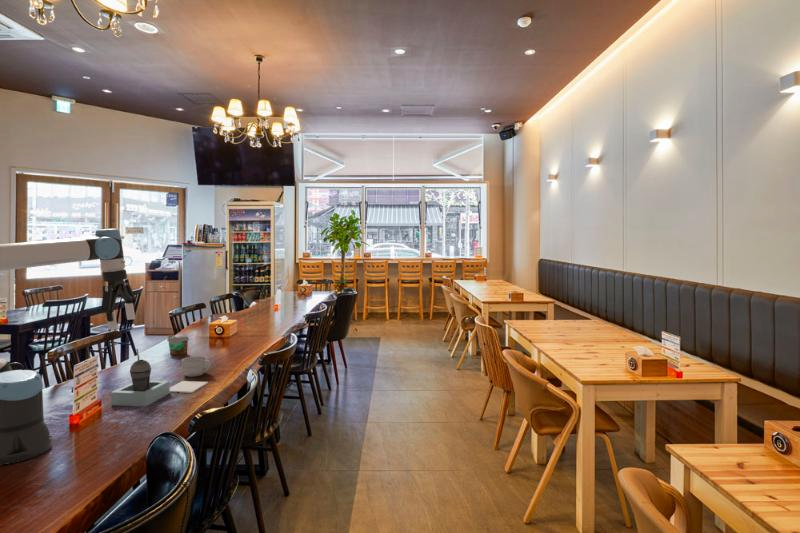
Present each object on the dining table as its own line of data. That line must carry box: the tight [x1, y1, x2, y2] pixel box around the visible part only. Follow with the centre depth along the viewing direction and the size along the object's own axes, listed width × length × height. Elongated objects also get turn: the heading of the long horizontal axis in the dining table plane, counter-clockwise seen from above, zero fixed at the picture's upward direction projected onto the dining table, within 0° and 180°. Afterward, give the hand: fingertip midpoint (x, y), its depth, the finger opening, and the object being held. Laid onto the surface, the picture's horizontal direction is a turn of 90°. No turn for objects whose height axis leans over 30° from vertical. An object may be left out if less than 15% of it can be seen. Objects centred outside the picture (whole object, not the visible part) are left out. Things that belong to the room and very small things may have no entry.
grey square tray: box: [110, 380, 171, 408], centre depth 166 cm, size 14×14×5 cm
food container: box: [166, 334, 190, 357], centre depth 230 cm, size 12×6×10 cm, turn 73°
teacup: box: [181, 355, 212, 377], centre depth 195 cm, size 14×11×8 cm
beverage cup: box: [129, 348, 152, 391], centre depth 166 cm, size 7×7×20 cm
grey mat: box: [170, 380, 209, 394], centre depth 179 cm, size 12×12×1 cm
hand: (122, 324), depth 162 cm, fingers open, 13 cm apart
